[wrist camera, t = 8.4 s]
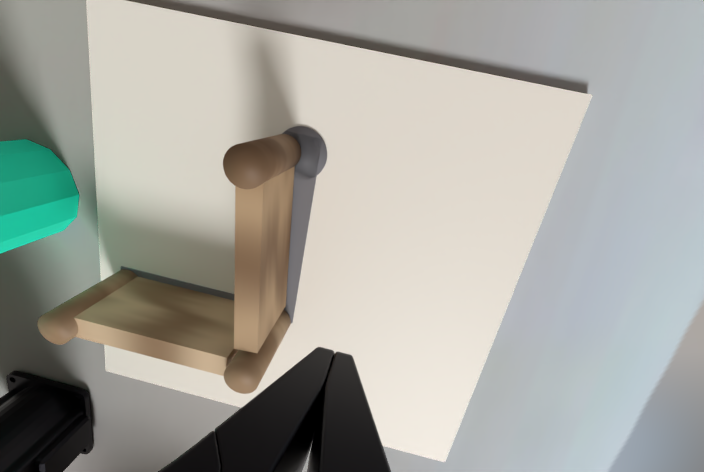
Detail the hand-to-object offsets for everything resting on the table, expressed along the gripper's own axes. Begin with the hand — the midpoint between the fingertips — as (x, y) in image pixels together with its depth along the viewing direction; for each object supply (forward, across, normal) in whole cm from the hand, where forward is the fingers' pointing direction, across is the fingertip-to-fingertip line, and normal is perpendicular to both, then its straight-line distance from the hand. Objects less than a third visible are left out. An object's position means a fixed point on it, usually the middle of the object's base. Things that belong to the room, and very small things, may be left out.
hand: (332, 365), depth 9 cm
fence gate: (+12, +5, +2) cm, 13 cm away
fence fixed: (+12, +10, +8) cm, 18 cm away
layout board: (+13, +4, +4) cm, 14 cm away
